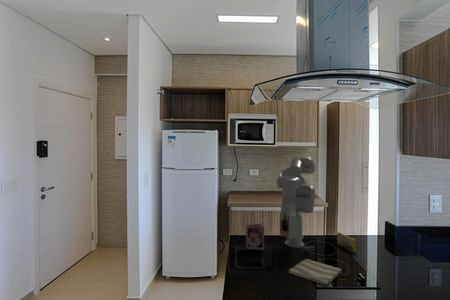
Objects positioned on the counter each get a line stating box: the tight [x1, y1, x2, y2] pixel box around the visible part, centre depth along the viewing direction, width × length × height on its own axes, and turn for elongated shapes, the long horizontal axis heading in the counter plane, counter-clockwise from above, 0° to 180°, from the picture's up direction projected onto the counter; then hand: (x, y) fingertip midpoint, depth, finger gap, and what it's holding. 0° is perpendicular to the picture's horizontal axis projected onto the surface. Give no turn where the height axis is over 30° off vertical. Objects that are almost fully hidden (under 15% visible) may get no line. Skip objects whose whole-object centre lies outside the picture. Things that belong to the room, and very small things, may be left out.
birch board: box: [288, 258, 342, 287], centre depth 151 cm, size 20×20×2 cm
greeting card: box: [245, 222, 265, 251], centre depth 185 cm, size 11×7×15 cm, turn 83°
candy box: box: [336, 231, 357, 253], centre depth 187 cm, size 16×2×8 cm, turn 15°
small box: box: [279, 212, 297, 239], centre depth 169 cm, size 8×6×13 cm
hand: (288, 229), depth 169 cm, fingers closed on small box, 7 cm apart
